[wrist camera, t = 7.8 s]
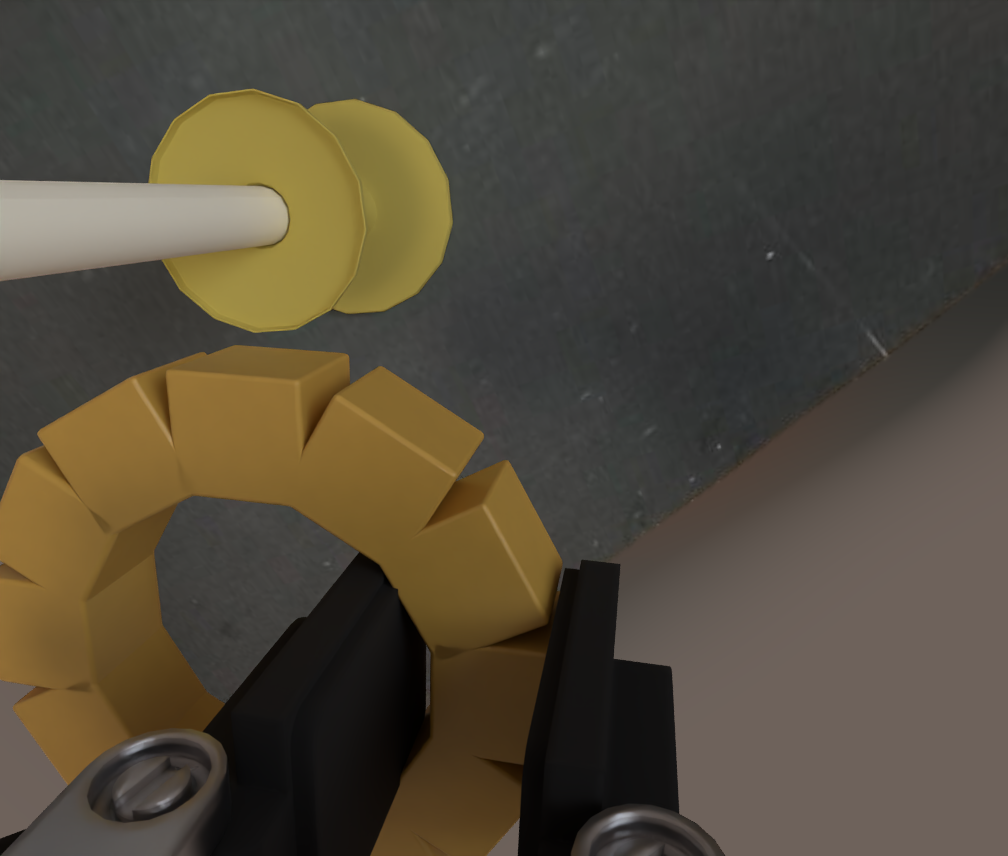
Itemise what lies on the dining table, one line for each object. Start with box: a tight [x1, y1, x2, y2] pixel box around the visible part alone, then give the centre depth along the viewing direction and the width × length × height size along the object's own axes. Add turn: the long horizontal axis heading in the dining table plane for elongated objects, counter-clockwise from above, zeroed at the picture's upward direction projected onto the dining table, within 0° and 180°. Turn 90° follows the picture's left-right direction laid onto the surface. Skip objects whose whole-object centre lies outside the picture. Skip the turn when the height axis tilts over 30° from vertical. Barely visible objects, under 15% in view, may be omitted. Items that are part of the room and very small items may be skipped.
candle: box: [0, 89, 453, 333], centre depth 24 cm, size 10×10×27 cm
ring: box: [0, 345, 563, 856], centre depth 11 cm, size 8×8×2 cm
